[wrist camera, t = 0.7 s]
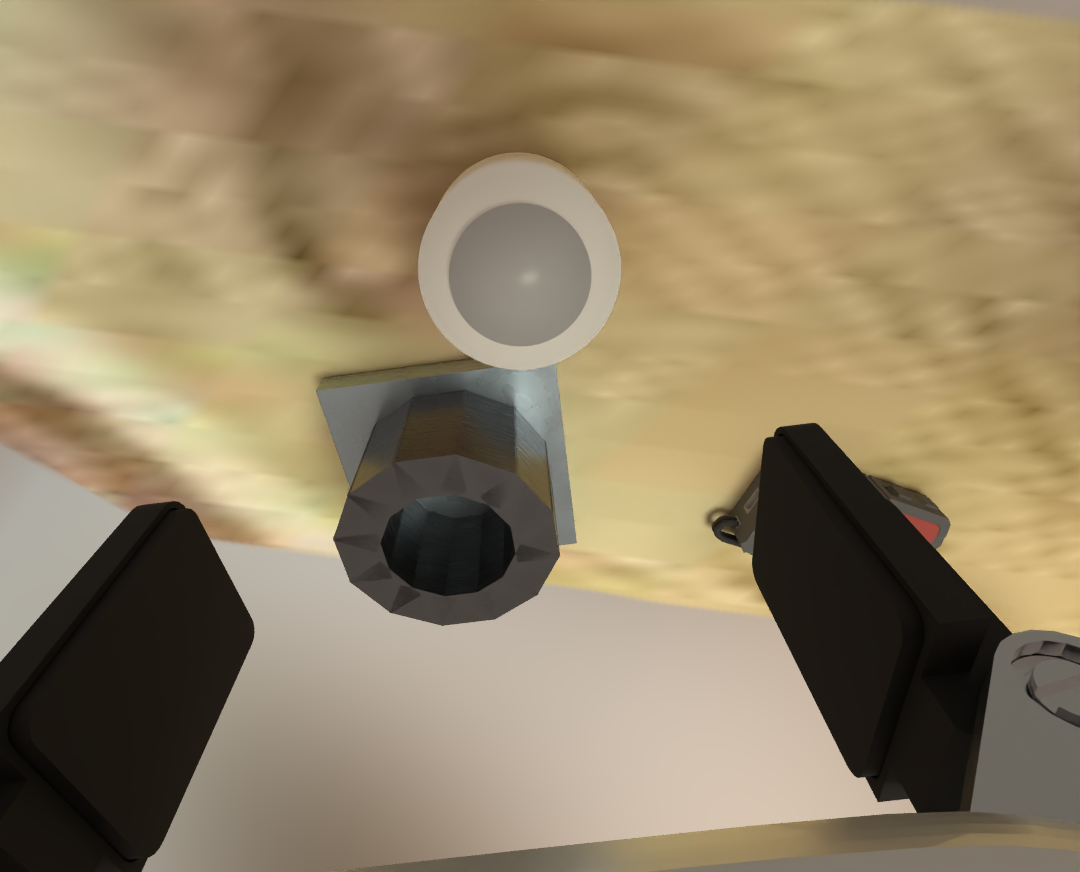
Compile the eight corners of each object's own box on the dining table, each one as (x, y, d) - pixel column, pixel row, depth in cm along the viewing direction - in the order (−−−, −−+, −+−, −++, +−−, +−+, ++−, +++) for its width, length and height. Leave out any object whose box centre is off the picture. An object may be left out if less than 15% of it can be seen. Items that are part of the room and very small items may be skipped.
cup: (588, 133, 26) (617, 153, 19) (599, 295, 29) (627, 360, 23) (423, 156, 26) (394, 184, 19) (455, 315, 29) (440, 384, 23)
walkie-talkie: (687, 541, 38) (927, 613, 43) (707, 591, 35) (968, 664, 39) (762, 431, 34) (1018, 523, 39) (793, 475, 31) (1073, 571, 35)
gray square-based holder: (553, 347, 31) (565, 419, 24) (574, 526, 37) (588, 621, 30) (324, 378, 31) (275, 456, 24) (383, 550, 37) (357, 649, 31)
